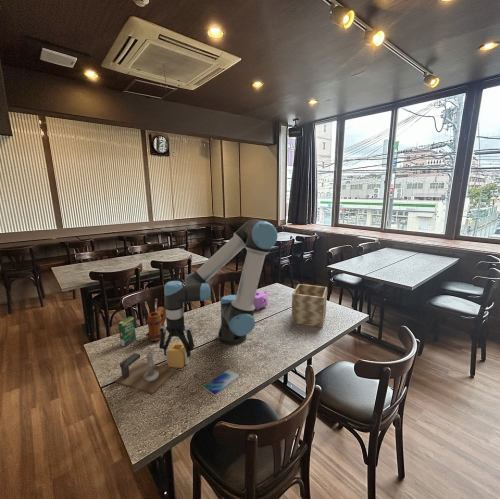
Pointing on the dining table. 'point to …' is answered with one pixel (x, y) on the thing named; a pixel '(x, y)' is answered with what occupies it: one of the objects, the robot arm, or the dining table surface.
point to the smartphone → (221, 381)
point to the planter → (309, 305)
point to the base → (143, 374)
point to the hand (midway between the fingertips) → (177, 362)
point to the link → (176, 355)
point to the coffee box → (127, 331)
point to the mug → (155, 323)
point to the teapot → (260, 300)
